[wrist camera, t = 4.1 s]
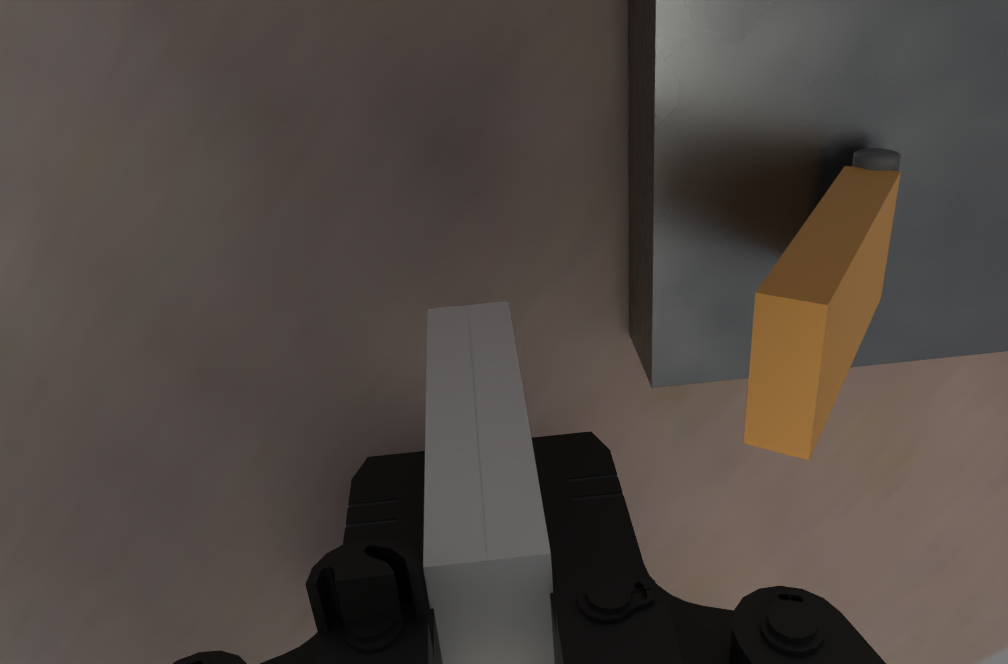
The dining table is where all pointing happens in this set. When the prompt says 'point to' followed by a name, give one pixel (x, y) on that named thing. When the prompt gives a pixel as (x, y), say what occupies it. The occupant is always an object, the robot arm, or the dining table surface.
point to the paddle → (820, 306)
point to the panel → (813, 168)
